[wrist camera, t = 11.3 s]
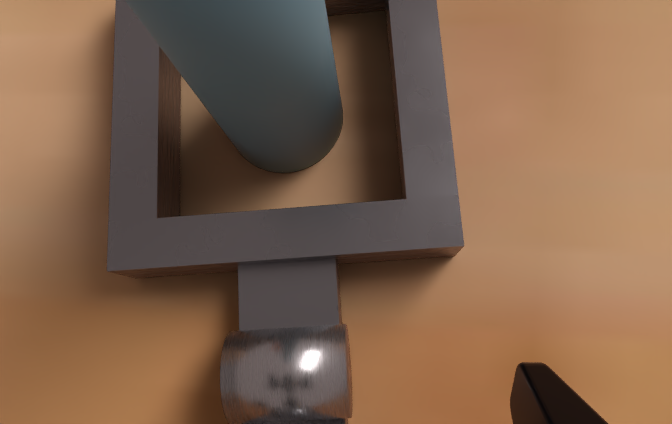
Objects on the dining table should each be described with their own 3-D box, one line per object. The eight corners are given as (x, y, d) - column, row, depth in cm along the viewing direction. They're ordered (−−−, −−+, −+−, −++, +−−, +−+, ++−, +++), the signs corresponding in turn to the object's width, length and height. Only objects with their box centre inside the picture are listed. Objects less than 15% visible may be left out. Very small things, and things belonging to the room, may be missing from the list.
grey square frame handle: (493, 610, 16) (515, 663, 13) (128, 621, 16) (81, 673, 14) (400, -248, 22) (402, -323, 20) (146, -216, 23) (117, -284, 21)
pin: (301, 194, 19) (136, -110, 6) (206, 135, 19) (-119, -244, 7) (365, 98, 19) (336, -361, 7) (270, 45, 20) (81, -458, 7)
